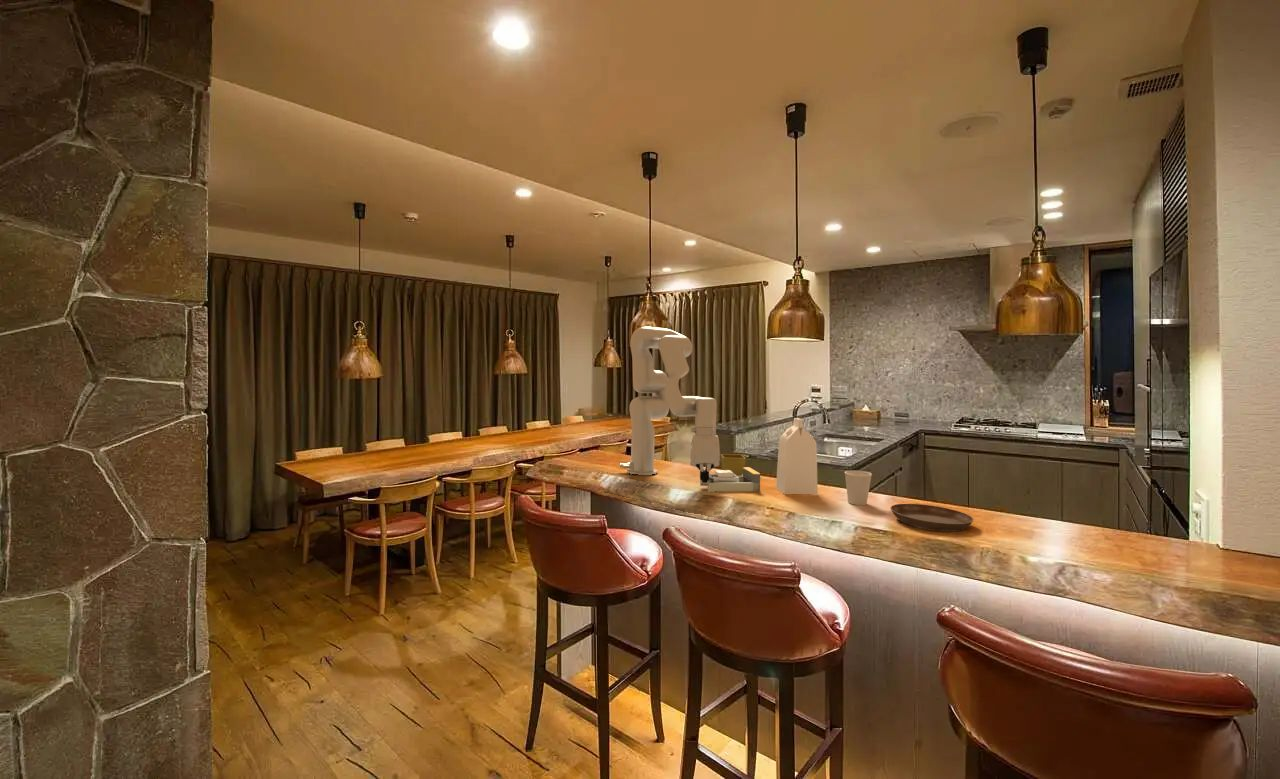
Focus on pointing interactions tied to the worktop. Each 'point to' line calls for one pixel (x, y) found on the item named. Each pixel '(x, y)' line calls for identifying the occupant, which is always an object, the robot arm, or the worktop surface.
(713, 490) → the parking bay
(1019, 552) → the worktop surface
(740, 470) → the flower pot
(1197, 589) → the worktop surface
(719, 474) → the trolley
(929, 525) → the plant saucer
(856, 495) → the dixie cup
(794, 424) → the milk
